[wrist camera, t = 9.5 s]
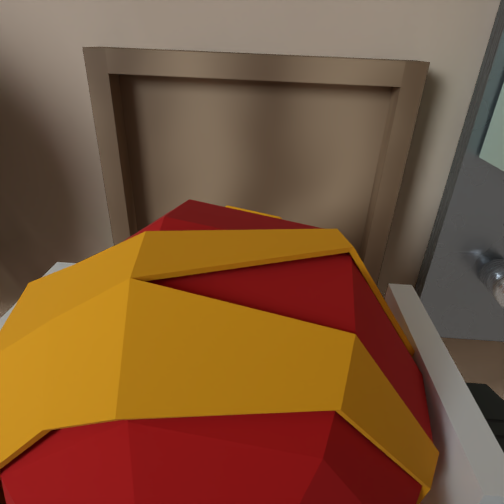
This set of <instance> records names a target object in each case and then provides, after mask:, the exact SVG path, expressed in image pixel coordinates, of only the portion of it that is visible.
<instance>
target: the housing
mask: <svg viewBox="0 0 504 504" xmlns="http://www.w3.org/2000/svg"><path fill="white" fill-rule="evenodd" d="M479 157H480V158H481V159H483V160H485V161H486V162H488V163H490V164H492V165H493V166H495V167H497V168H499V169H500V170H502V171H504V83H503V86H502V89H501V92H500V95H499V98H498V101H497V104H496V107H495V110H494V113H493V116H492V119H491V122H490V125H489V128H488V131H487V134H486V137H485V140H484V143H483V146H482V149H481V152H480V155H479Z"/></svg>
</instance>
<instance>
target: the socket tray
mask: <svg viewBox="0 0 504 504" xmlns="http://www.w3.org/2000/svg"><path fill="white" fill-rule="evenodd" d="M82 48H83V54H84V60H85V66H86V73H87V79H88V85H89V92H90V98H91V104H92V110H93V117H94V123H95V129H96V135H97V142H98V148H99V154H100V161H101V167H102V173H103V179H104V186H105V192H106V198H107V205H108V211H109V217H110V223H111V230H112V236H113V242H114V246H115V245H117V244H119V243H121V242H123V241H124V240H126V239H127V238H129V237H130V236H132V235H134V234H135V233H137V232H138V231H140V230H141V229H143V228H145V227H146V226H148V225H149V224H151V223H153V222H154V221H156V220H157V219H159V218H160V217H162V216H164V215H165V214H167V213H168V212H170V211H171V210H173V209H175V208H176V207H178V206H179V205H181V204H183V203H184V202H186V201H187V200H189V199H191V200H196V201H200V202H205V203H209V204H214V205H218V206H223V207H225V206H227V205H228V206H233V207H237V208H242V209H247V210H251V211H256V212H260V213H265V214H269V215H274V216H279V217H281V218H282V219H283V220H287V221H292V222H296V223H301V224H306V225H310V226H315V227H319V228H324V229H338V230H339V231H340V232H341V233H342V235H343V236H344V237H345V238H346V239H347V240H348V241H349V242H350V243H351V244H352V246H353V247H354V248H355V250H356V252H357V253H358V255H359V257H360V259H361V260H362V262H363V264H364V265H365V267H366V269H367V270H368V272H369V274H370V276H371V277H372V279H373V281H374V282H375V284H376V286H377V283H378V278H379V274H380V270H381V266H382V262H383V257H384V253H385V249H386V245H387V241H388V236H389V232H390V228H391V224H392V220H393V215H394V211H395V207H396V203H397V199H398V194H399V190H400V186H401V182H402V178H403V173H404V169H405V165H406V161H407V157H408V152H409V148H410V144H411V140H412V136H413V131H414V127H415V123H416V119H417V115H418V110H419V106H420V102H421V98H422V94H423V89H424V85H425V81H426V77H427V73H428V68H429V64H430V62H423V61H413V60H390V59H367V58H345V57H322V56H299V55H276V54H253V53H230V52H207V51H184V50H161V49H138V48H115V47H82Z"/></svg>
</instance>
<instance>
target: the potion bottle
mask: <svg viewBox="0 0 504 504" xmlns="http://www.w3.org/2000/svg"><path fill="white" fill-rule="evenodd" d="M414 353H415V351H414V349H413V347H412V346H411V344H410V342H409V340H408V339H407V337H406V335H405V334H404V332H403V330H402V329H401V327H400V325H399V323H398V322H397V320H396V318H395V317H394V315H393V313H392V311H391V310H390V308H389V306H388V305H387V303H386V301H385V300H384V298H383V296H382V294H381V293H380V291H379V289H378V288H377V286H376V284H375V282H374V281H373V279H372V277H371V276H370V274H369V272H368V270H367V269H366V267H365V265H364V264H363V262H362V260H361V259H360V257H359V255H358V253H357V252H356V250H355V248H354V247H353V246H352V244H351V243H350V242H349V241H348V240H347V239H346V238H345V237H344V236H343V235H342V233H341V232H340V231H339V230H338V229H324V228H319V227H315V226H310V225H306V224H301V223H296V222H292V221H287V220H283V219H282V218H281V217H279V216H274V215H269V214H265V213H260V212H256V211H251V210H247V209H242V208H237V207H233V206H228V205H227V206H225V207H223V206H218V205H214V204H209V203H205V202H200V201H196V200H191V199H189V200H187V201H186V202H184V203H183V204H181V205H179V206H178V207H176V208H175V209H173V210H171V211H170V212H168V213H167V214H165V215H164V216H162V217H160V218H159V219H157V220H156V221H154V222H153V223H151V224H149V225H148V226H146V227H145V228H143V229H141V230H140V231H138V232H137V233H135V234H134V235H132V236H130V237H129V238H127V239H126V240H124V241H123V242H121V243H119V244H117V245H115V246H113V247H111V248H109V249H106V250H104V251H102V252H100V253H98V254H96V255H94V256H91V257H89V258H87V259H85V260H83V261H81V262H79V263H76V264H74V265H72V266H69V267H67V268H64V269H62V270H59V271H57V272H54V273H52V274H49V275H47V276H44V277H42V278H39V279H37V280H34V281H32V282H29V283H28V285H27V287H26V288H25V290H24V292H23V293H22V295H21V297H20V298H19V300H18V302H17V303H16V305H15V307H14V308H13V310H12V312H11V313H10V315H9V317H8V318H7V320H6V322H5V323H4V325H3V327H2V329H1V330H0V504H420V502H421V501H422V500H423V499H424V497H425V496H426V495H427V493H428V492H429V491H430V489H431V486H432V482H433V477H434V473H435V469H436V465H437V460H438V456H439V451H438V450H437V448H436V447H435V445H434V444H433V438H432V432H431V425H430V419H429V413H428V406H427V400H426V394H425V388H424V381H423V375H422V373H421V372H420V370H419V368H418V367H417V365H416V363H415V362H414V360H413V358H412V356H413V355H414Z"/></svg>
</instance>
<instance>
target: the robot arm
mask: <svg viewBox="0 0 504 504" xmlns="http://www.w3.org/2000/svg"><path fill="white" fill-rule="evenodd" d="M74 264H76V263H65V262H57V263H56V264H55V265H54V266H53V267H52V268H51V269H50V270H49V271H48V272H47V273H46V274H45V275H44V276H47V275H49V274H52V273H54V272H57V271H59V270H62V269H64V268H67V267H69V266H72V265H74ZM44 276H42V277H44ZM42 277H41V278H42ZM384 300H385V301H386V303H387V305H388V306H389V308H390V310H391V311H392V313H393V315H394V317H395V318H396V320H397V322H398V323H399V325H400V327H401V329H402V330H403V332H404V334H405V335H406V337H407V339H408V340H409V342H410V344H411V346H412V347H413V349H414V351H415V353H414V355H413V356H412V358H413V360H414V362H415V363H416V365H417V367H418V368H419V370H420V372H421V373H422V375H423V381H424V388H425V394H426V400H427V406H428V413H429V419H430V425H431V432H432V438H433V444H434V445H435V447H436V448H437V450H438V451H439V456H438V460H437V465H436V469H435V473H434V477H433V482H432V486H431V489H430V491H429V492H428V493H427V495H426V496H425V497H424V499H423V500H422V501H421V502H420V504H504V400H503V399H501V398H500V397H499V396H498V395H497V394H496V393H495V392H494V391H493V390H492V389H491V388H490V387H489V386H487V385H486V384H476V383H465V381H464V379H463V377H462V376H461V374H460V372H459V370H458V368H457V366H456V365H455V363H454V361H453V359H452V357H451V355H450V354H449V352H448V350H447V348H446V346H445V344H444V343H443V341H442V339H441V337H440V335H439V333H438V332H437V330H436V328H435V326H434V324H433V322H432V321H431V319H430V317H429V315H428V313H427V312H426V310H425V308H424V306H423V304H422V302H421V301H420V299H419V297H418V295H417V293H416V291H415V290H414V288H413V286H412V285H404V284H389V283H388V287H387V291H386V295H385V299H384ZM17 302H18V301H17ZM17 302H16V303H17ZM16 303H15V304H14V305H13V306H12V307H11V308H10V309H9V310H8V311H7V312H6V313H5V314H4V315H3V316H2V317H1V318H0V330H1V329H2V327H3V325H4V323H5V322H6V320H7V318H8V317H9V315H10V313H11V312H12V310H13V308H14V307H15V305H16Z"/></svg>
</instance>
